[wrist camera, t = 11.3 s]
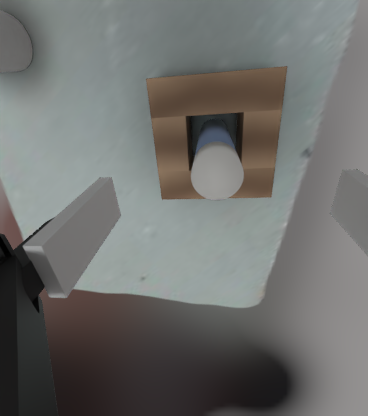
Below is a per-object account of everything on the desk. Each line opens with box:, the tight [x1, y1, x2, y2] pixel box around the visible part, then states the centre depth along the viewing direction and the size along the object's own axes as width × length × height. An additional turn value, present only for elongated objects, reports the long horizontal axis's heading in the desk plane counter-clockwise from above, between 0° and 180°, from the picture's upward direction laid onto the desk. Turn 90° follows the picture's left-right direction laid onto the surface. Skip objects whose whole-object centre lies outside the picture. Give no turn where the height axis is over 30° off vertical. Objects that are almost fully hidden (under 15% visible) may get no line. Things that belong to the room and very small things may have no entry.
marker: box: [191, 118, 244, 200], centre depth 25 cm, size 4×4×18 cm
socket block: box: [146, 66, 287, 199], centre depth 30 cm, size 14×14×7 cm
